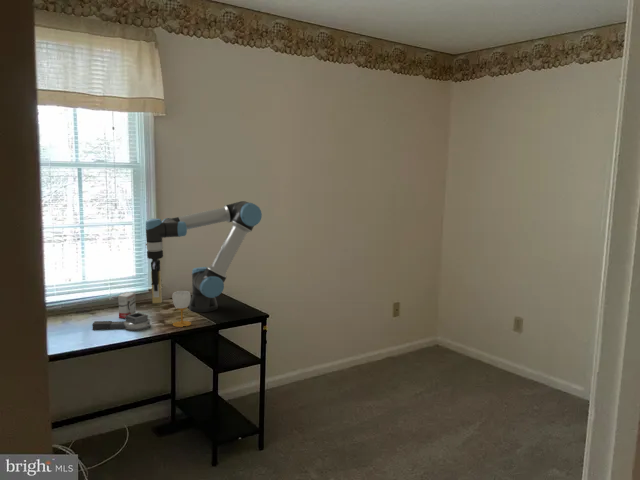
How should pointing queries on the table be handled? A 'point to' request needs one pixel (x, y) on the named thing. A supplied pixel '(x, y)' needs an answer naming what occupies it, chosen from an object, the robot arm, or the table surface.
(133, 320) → the ratchet
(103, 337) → the table surface
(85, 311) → the table surface
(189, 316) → the table surface
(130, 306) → the ink box
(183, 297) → the cup
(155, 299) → the gold square rod
